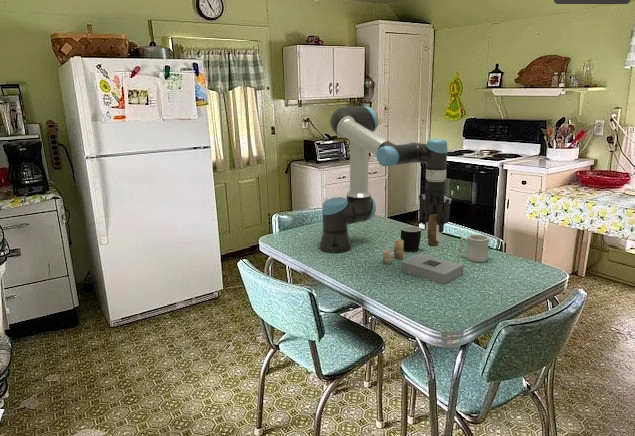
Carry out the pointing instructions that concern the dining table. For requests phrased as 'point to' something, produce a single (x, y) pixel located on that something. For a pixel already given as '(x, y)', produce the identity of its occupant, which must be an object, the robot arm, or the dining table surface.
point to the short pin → (387, 257)
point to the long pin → (432, 230)
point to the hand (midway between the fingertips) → (433, 238)
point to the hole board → (432, 268)
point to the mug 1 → (411, 238)
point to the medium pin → (398, 248)
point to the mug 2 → (476, 247)
